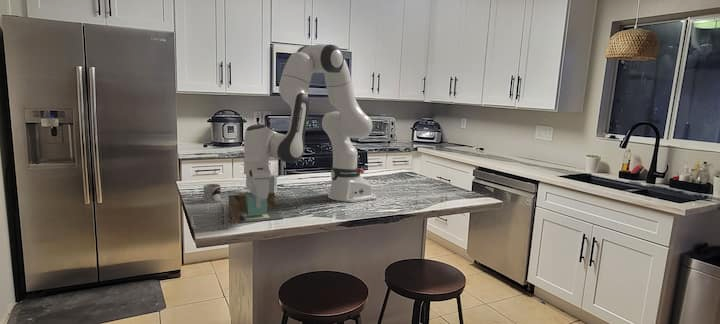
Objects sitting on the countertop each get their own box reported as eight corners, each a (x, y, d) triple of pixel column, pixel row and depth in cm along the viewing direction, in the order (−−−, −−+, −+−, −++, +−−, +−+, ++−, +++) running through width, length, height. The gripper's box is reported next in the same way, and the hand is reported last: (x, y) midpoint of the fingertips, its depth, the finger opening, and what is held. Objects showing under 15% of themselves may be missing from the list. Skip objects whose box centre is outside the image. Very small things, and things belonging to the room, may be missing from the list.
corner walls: (273, 209, 167) (273, 192, 166) (283, 219, 156) (283, 200, 154) (228, 213, 160) (228, 195, 158) (235, 223, 148) (235, 204, 147)
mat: (274, 210, 166) (274, 208, 166) (283, 219, 156) (283, 217, 156) (233, 213, 159) (233, 212, 159) (239, 223, 148) (239, 222, 148)
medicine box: (276, 192, 193) (277, 174, 192) (274, 195, 189) (274, 176, 188) (260, 191, 194) (260, 173, 193) (257, 193, 190) (257, 175, 188)
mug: (215, 203, 171) (215, 188, 170) (200, 202, 172) (200, 186, 171) (227, 197, 181) (227, 183, 180) (213, 196, 182) (212, 181, 181)
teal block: (245, 212, 156) (245, 194, 155) (264, 211, 159) (264, 193, 158) (248, 216, 152) (248, 197, 151) (266, 214, 156) (267, 196, 154)
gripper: (241, 164, 160) (242, 198, 163) (253, 174, 143) (253, 213, 145) (258, 163, 163) (258, 197, 166) (272, 173, 145) (271, 211, 148)
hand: (256, 205), depth 155 cm, fingers open, 4 cm apart
